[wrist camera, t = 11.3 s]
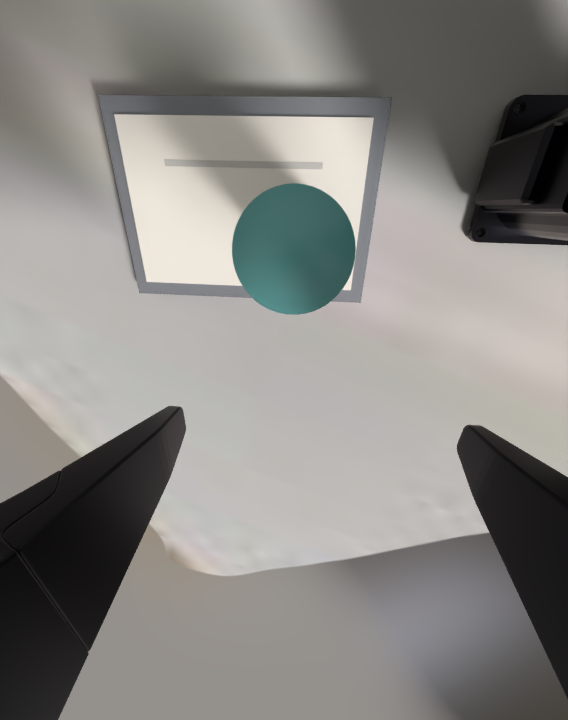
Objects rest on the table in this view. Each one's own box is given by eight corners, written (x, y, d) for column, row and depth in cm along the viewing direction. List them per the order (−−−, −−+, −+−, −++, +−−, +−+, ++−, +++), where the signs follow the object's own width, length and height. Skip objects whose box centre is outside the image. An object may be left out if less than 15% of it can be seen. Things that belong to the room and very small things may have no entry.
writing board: (386, 104, 15) (392, 95, 14) (358, 298, 19) (361, 303, 18) (109, 101, 15) (94, 93, 14) (146, 289, 20) (137, 293, 19)
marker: (336, 196, 16) (364, 184, 7) (329, 265, 17) (347, 317, 9) (270, 195, 16) (227, 181, 8) (270, 263, 17) (235, 312, 9)
